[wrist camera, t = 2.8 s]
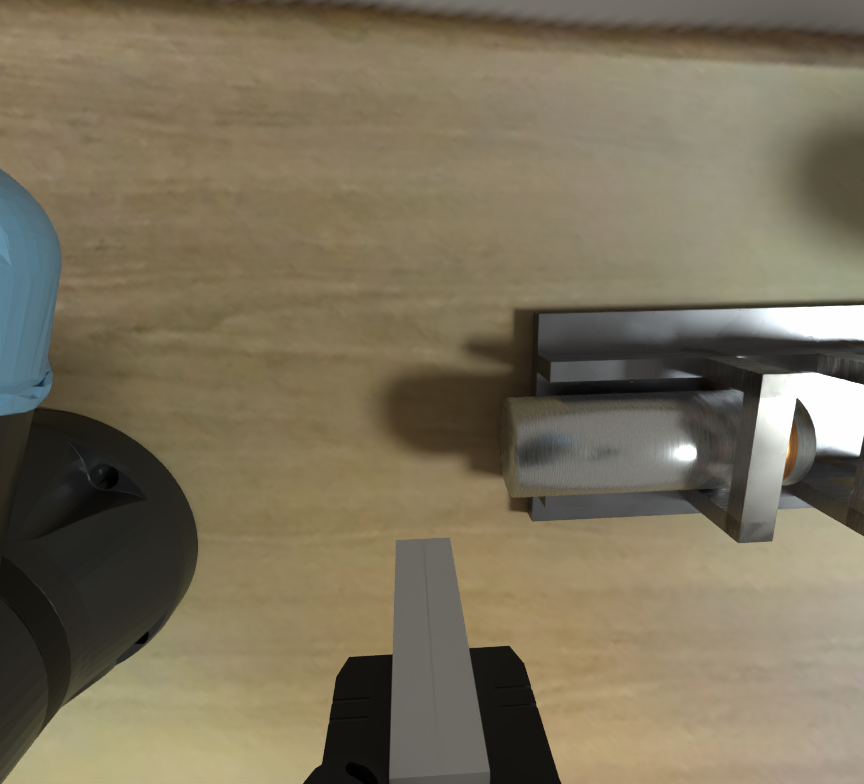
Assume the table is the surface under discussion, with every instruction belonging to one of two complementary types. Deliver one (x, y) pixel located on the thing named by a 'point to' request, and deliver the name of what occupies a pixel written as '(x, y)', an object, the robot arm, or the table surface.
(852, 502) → the grey slotted rack
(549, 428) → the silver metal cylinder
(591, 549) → the table surface
